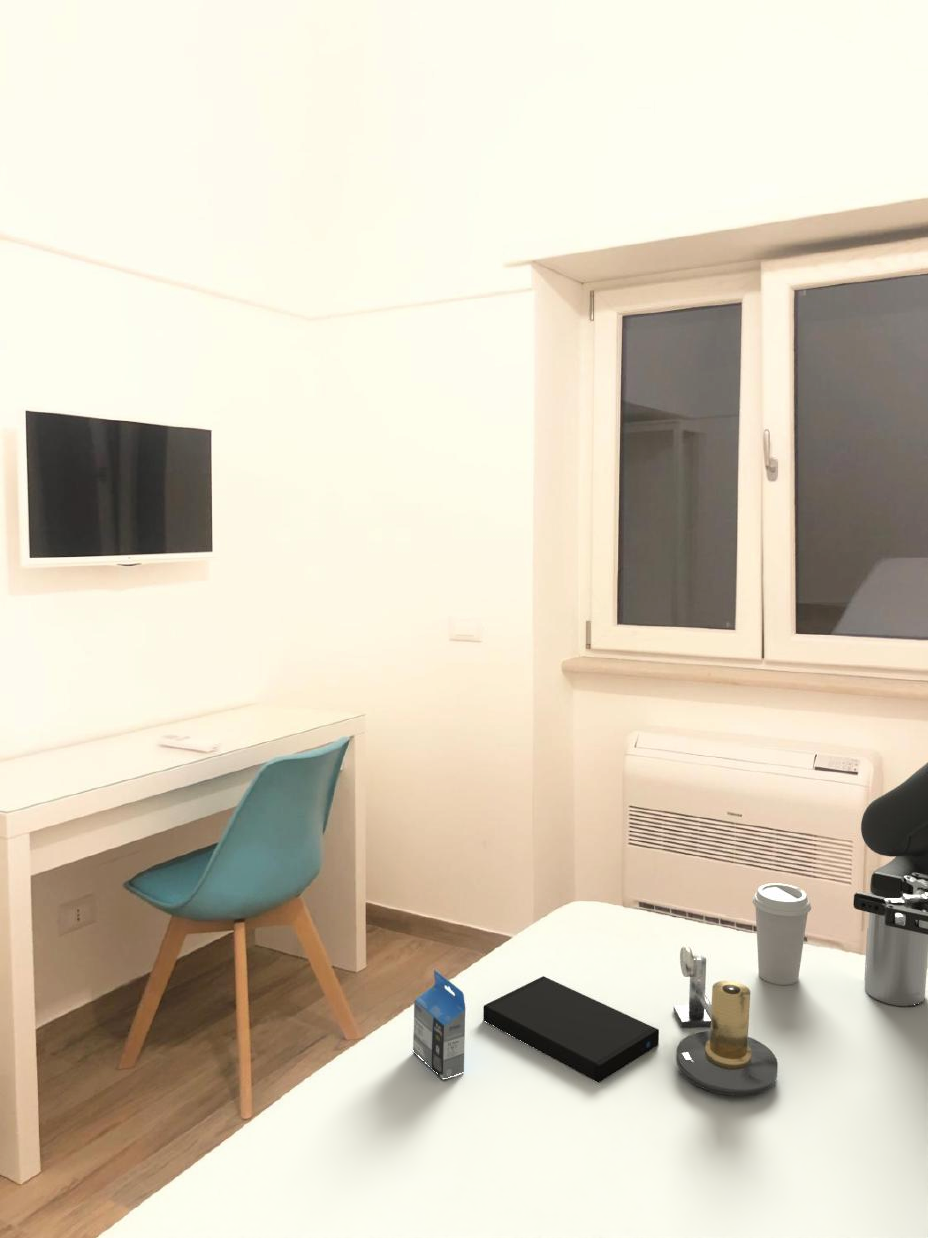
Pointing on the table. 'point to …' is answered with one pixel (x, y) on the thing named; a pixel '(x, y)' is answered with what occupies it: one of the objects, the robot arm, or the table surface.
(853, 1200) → the table surface
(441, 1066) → the label tape box
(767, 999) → the table surface
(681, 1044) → the turntable platter
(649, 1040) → the external hard drive
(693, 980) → the dial gauge stand
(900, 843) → the robot arm
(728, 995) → the brass cover
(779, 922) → the coffee cup
